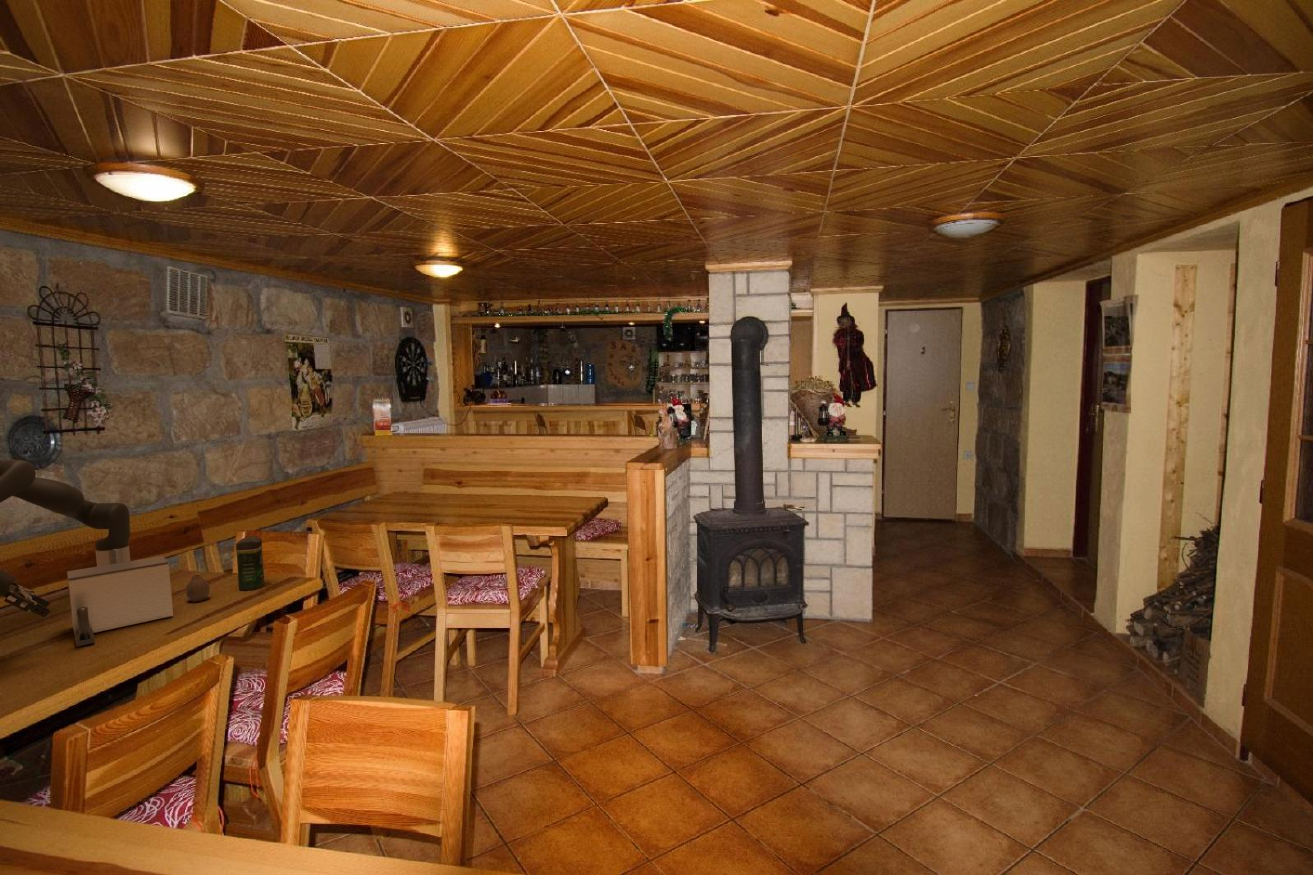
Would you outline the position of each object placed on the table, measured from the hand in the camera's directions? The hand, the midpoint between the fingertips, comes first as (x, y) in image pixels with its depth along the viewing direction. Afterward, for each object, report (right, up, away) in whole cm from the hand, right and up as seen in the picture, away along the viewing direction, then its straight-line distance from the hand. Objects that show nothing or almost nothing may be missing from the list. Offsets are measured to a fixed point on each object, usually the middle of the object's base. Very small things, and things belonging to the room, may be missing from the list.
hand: (47, 609), depth 186 cm
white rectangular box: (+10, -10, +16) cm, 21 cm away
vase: (+12, -8, +44) cm, 46 cm away
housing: (+2, -10, +24) cm, 26 cm away
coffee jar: (+23, -7, +57) cm, 62 cm away
